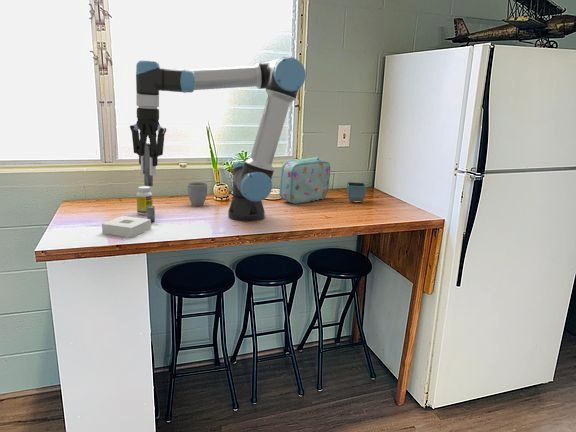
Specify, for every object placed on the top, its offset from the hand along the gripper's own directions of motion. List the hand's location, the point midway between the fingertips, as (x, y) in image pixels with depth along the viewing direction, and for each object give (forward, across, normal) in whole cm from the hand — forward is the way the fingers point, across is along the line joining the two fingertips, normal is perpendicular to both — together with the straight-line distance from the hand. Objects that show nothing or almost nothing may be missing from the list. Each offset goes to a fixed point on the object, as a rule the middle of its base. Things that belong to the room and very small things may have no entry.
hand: (148, 174), depth 169 cm
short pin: (+21, +5, -9) cm, 23 cm away
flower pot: (+18, -65, -80) cm, 104 cm away
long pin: (+4, 0, 0) cm, 4 cm away
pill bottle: (+21, +14, -19) cm, 31 cm away
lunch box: (+19, -41, -71) cm, 84 cm away
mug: (+20, +2, -43) cm, 47 cm away
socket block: (+21, +6, +5) cm, 22 cm away
